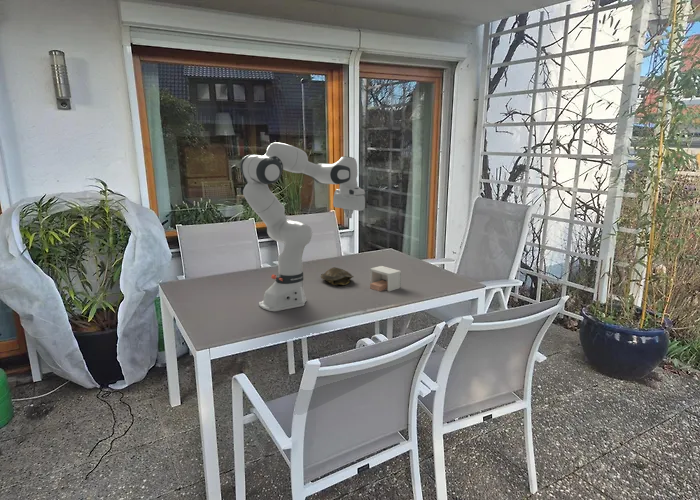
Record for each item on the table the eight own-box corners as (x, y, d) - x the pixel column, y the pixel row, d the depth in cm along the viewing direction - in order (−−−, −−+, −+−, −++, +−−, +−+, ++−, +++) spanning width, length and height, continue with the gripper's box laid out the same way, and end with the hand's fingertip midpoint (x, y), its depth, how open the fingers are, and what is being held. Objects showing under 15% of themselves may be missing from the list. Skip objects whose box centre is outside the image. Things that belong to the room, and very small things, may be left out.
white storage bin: (389, 291, 224) (389, 273, 222) (370, 285, 234) (370, 268, 232) (400, 287, 230) (400, 270, 228) (381, 282, 240) (381, 265, 238)
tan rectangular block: (379, 291, 225) (379, 286, 224) (370, 289, 229) (370, 283, 229) (391, 288, 231) (391, 282, 230) (382, 285, 235) (382, 280, 235)
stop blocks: (393, 288, 229) (393, 283, 229) (379, 284, 237) (380, 279, 236) (396, 287, 231) (396, 283, 230) (382, 283, 238) (382, 279, 237)
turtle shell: (340, 265, 254) (358, 266, 236) (342, 280, 254) (359, 283, 237) (315, 268, 246) (330, 269, 228) (316, 284, 246) (332, 287, 229)
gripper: (330, 189, 223) (330, 216, 226) (357, 191, 208) (357, 220, 211) (339, 188, 227) (339, 215, 230) (367, 191, 212) (367, 219, 215)
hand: (348, 217), depth 220 cm, fingers closed
